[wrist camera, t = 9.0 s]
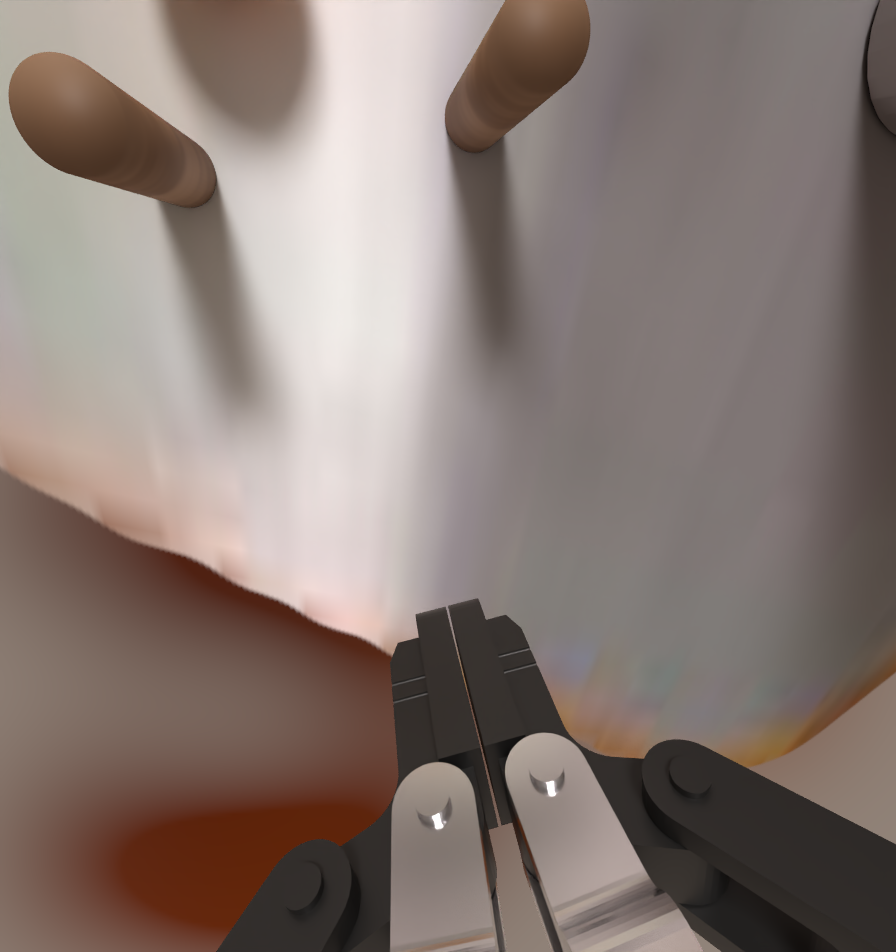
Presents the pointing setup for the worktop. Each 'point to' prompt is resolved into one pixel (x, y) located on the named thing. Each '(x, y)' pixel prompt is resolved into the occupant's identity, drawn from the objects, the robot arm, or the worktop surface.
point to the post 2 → (517, 69)
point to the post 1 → (105, 132)
